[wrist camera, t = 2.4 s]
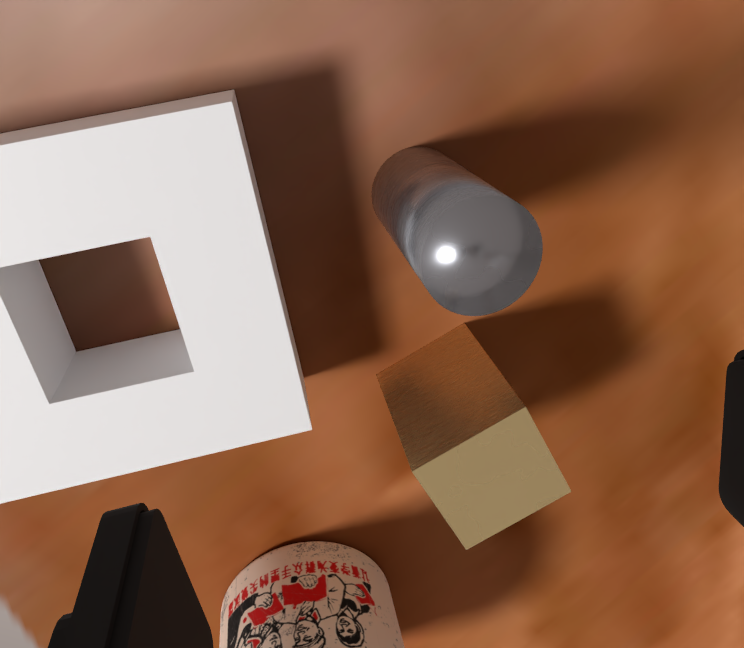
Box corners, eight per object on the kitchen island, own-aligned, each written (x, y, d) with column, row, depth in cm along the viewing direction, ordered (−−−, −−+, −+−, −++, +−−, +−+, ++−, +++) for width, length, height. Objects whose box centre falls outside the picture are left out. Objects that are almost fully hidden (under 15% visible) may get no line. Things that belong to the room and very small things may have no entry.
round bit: (455, 138, 25) (539, 183, 18) (464, 227, 27) (545, 301, 20) (364, 156, 25) (413, 210, 18) (379, 245, 26) (429, 327, 19)
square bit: (464, 322, 29) (525, 406, 22) (504, 395, 31) (571, 491, 24) (375, 374, 29) (412, 471, 23) (421, 443, 31) (466, 550, 25)
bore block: (233, 89, 23) (231, 101, 19) (303, 378, 28) (311, 429, 25) (-119, 156, 22) (-191, 181, 18) (21, 443, 27) (-13, 506, 24)
